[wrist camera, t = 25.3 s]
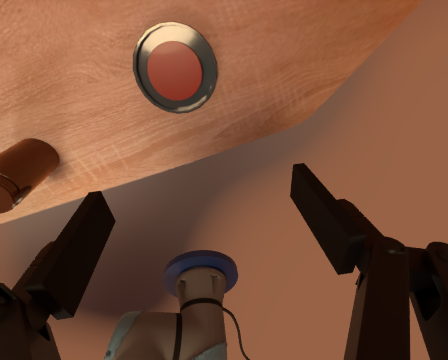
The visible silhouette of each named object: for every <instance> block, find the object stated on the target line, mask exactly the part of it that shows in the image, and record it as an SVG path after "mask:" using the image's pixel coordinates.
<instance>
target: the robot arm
mask: <svg viewBox="0 0 448 360" xmlns="http://www.w3.org/2000/svg"><path fill="white" fill-rule="evenodd" d="M290 197H291V198H292V200H293V202H294V203H295V205H296V207H297V208H298V210H299V211H300V213H301V215H302V216H303V218H304V220H305V221H306V223H307V225H308V226H309V228H310V229H311V231H312V233H313V235H314V236H315V238H316V239H317V241H318V243H319V244H320V246H321V248H322V249H323V251H324V252H325V254H326V256H327V258H328V259H329V261H330V263H331V264H332V266H333V267H334V269H335V271H336V272H337V274H338V275H340V274H347V273H352V272H353V270H354V268H355V265H356V266H357V268H358V269H359V271H360V274H359V277H358V279H357V281H356V285H357V289H356V295H355V300H354V306H353V311H352V317H351V322H350V328H349V333H348V339H347V345H346V350H345V355H344V360H410V308H409V296H410V299H411V302H412V305H413V308H414V311H415V314H416V317H417V321H418V323H419V327H420V330H421V332H422V336H423V339H424V342H425V345H426V348H427V351H428V354H429V357H430V360H448V244H446V243H443V242H432V243H429V245H428V246H427V248H426V249H421V248H412V247H405V246H404V245H403V244H402V243H401V242H399V241H398V240H395V239H393V238H390V237H385V236H383V235H382V234H381V233H380V232H379V231H378V230H377V228H376V227H374V225H373V224H372V223H371V222H370V221H369V220H368V219H367V218H366V217H364V215H363V214H362V213H361V212H359V210H358V209H357V208H356V207H355V206H354V205H353V204H352V203H351V202H349V201H347V200H345V199H339V200H336V199H335V198H334V197H333V195H332V194H331V193H330V192H329V191H328V190H327V189H326V188H325V186H324V185H323V184H322V183H321V182H320V181H319V180H318V178H317V177H316V176H315V175H314V174H313V173H312V172H311V170H310V169H309V168H308V167H307V166H306V165H305V164H304V163H302V164H294V165H293V172H292V182H291V193H290ZM115 222H116V221H115V219H114V217H113V215H112V213H111V211H110V209H109V207H108V205H107V203H106V201H105V199H104V197H103V195H102V193H101V191H96V192H89V193H88V195H87V196H86V197H85V199H84V200H83V202H82V203H81V205H80V206H79V208H78V209H77V211H76V212H75V213H74V215H73V216H72V217H71V219H70V220H69V222H68V223H67V225H66V226H65V228H64V229H63V231H62V232H61V233H60V235H59V236H58V238H57V239H56V240H55V241H53V242H50V243H49V244H47V245H46V246H45V247H44V248H43V249H42V250H41V251H40V252H39V253H38V255H37V256H36V258H35V260H33V262H32V263H31V265H30V267H29V268H27V270H26V271H25V273H24V274H23V275H22V277H21V278H20V279H19V281H18V282H17V283H16V285H15V286H14V287H13V289H12V290H10V289H9V288H8V287H7V286H6V285H5V284H3V283H0V360H61V359H60V355H59V353H58V349H57V346H56V343H55V340H54V337H53V334H52V331H51V327H50V326H49V324H48V323H47V322H46V321H47V319H48V318H49V316H50V314H51V315H52V316H53V317H55V318H56V319H57V320H59V319H66V318H72V317H74V315H75V312H76V310H77V308H78V305H79V303H80V301H81V299H82V296H83V294H84V292H85V290H86V287H87V285H88V283H89V280H90V278H91V276H92V274H93V272H94V269H95V267H96V265H97V262H98V260H99V258H100V255H101V253H102V251H103V249H104V247H105V244H106V242H107V240H108V237H109V235H110V233H111V230H112V228H113V226H114V224H115ZM225 288H226V276H225V274H224V272H223V271H222V270H221V269H219V268H217V267H214V266H210V265H197V266H192V267H189V268H187V269H185V270H183V271H181V272H180V273H179V274H178V276H177V277H176V282H175V289H176V293H177V297H178V300H179V304H180V313H164V312H145V311H140V312H127V313H125V314H124V315H123V316H122V317H121V318H120V320H119V322H118V323H117V326H116V328H115V330H114V332H113V335H112V337H111V340H110V342H109V345H108V348H107V352H106V355H105V358H104V360H227V343H226V335H225V326H224V316H223V311H225V312H227V313H228V314H229V315H230V316H231V317H232V318H233V320H234V322H235V325H236V328H237V331H238V338H239V344H240V348H241V351H242V354H243V355H244V357H245V358H246V359H247V360H250V359H249V358H248V357H247V356H246V355H245V353H244V351H243V348H242V344H241V336H240V330H239V326H238V324H237V321H236V319H235V317H234V315H233V314H232V313H231V312H230V311H229V310H227V309H225V308H223V306H222V303H223V298H224V293H225Z"/></svg>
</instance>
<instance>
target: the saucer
mask: <svg viewBox="0 0 448 360" xmlns="http://www.w3.org/2000/svg"><path fill="white" fill-rule="evenodd" d="M167 41H178V42H182V43H184V44H186V45H188V46H189V47H190V48H191V49H192V50H193V51H194V52H195V53H196V55H197V56H198V58H199V60H200V63H201V68H202V80H201V84H200V86H199V88H198V90H197V91H196V92H195V94H193V95H192V96H191V97H189V98H187V99H184V100H171V99H168V98H166V97H164V96H162V95H161V94H160V93H158V92H157V91H156V89H155V88H154V87H153V85H152V84H151V82H150V79H149V76H148V71H147V65H148V59H149V56H150V54H151V52H152V51H153V50H154V49H155V48H156V47H157V46H158V45H159V44H161V43H164V42H167ZM133 71H134V75H135V78H136V82H137V84H138V86H139V88H140V89H141V91H142V93H143V94H144V96H145V97H146V98H147V99H148V100H149V101H150V102H151V103H152V104H153V105H155V106H157V107H159V108H160V109H162V110H164V111H167V112H172V113H178V114H179V113H189V112H191V111H193V110H196V109H198V108H200V107H201V106H202V105H203V104H204V103H205V102H206V101H207V100H208V99H209V98H210V96H211V94H212V92H213V90H214V88H215V84H216V79H217V67H216V60H215V57H214V55H213V52H212V49H211V47H210V46H209V44H208V43H207V42H206V40H205V39H204V38H203V36H202V35H201V34H200V33H198V32H197V31H195V30H194V29H193V28H191V27H190V26H188V25H184V24H181V23H178V22H163V23H159V24H157V25H155V26H153V27H151V28H149V29H147V30H146V32H145V33H144V34H143V35H142V36H141V37H140V39H139V40H138V42H137V45H136V48H135V50H134V53H133Z"/></svg>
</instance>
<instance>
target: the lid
mask: <svg viewBox="0 0 448 360" xmlns="http://www.w3.org/2000/svg"><path fill="white" fill-rule="evenodd" d="M147 71H148V76H149V79H150V82H151V84H152V85H153V87H154V88H155V89H156V91H157V92H158V93H160V94H161V95H162V96H164V97H166V98H168V99H171V100H184V99H187V98H189V97H191V96H192V95H193V94H195V92H196V91H197V90H198V88H199V86H200V84H201V80H202V68H201V63H200V60H199V58H198V56H197V55H196V53H195V52H194V51H193V50H192V49H191V48H190V47H189V46H188V45H186V44H184V43H182V42H178V41H167V42H164V43H161V44H159V45H158V46H157V47H156V48H155V49H154V50H153V51H152V52H151V54H150V56H149V59H148V65H147Z"/></svg>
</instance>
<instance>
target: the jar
mask: <svg viewBox="0 0 448 360" xmlns="http://www.w3.org/2000/svg"><path fill="white" fill-rule="evenodd" d="M58 165H59V156H58V154H57V152H56V151H55V150H54V149H53V148H52V147H51V146H50V145H48V144H47V143H45V142H43V141H41V140H37V139H24V140H21V141H20V142H18V143H16V144H15V145H13V146H11V147H10V148H8V149H6V150H5V151H3V152H1V153H0V213H5V212H8V211H10V210H12V209H13V208H14V207H15V206H16V205H18V204H19V203H20V202H21V201H22V200H23V199H24V198H25V197H27V196H28V195H29V194H30V193H31V192H32V191H33V190H34V189H35V188H36V187H37V186H38V185H39V184H40V183H41V182H42V181H43V180H44V179H45V178H47V177H48V176H49V175H50V174H51V173H52V172H53V171H54V170H55V169H56V168H57V167H58Z"/></svg>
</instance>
